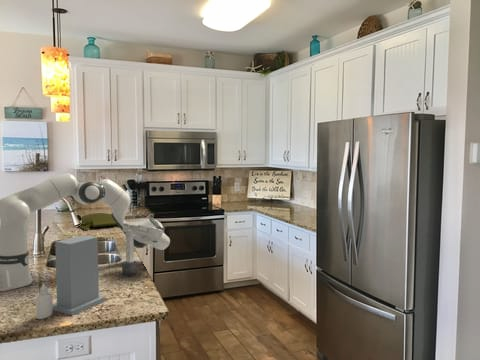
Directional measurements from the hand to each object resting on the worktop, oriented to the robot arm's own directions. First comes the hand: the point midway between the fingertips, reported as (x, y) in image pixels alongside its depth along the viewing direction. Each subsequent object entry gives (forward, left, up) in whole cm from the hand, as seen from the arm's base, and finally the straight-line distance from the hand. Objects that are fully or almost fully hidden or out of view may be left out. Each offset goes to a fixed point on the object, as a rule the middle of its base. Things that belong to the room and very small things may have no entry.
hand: (131, 225), depth 190 cm
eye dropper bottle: (-21, -49, -24) cm, 58 cm away
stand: (-12, -39, -24) cm, 47 cm away
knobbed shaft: (0, 0, -13) cm, 13 cm away
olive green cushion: (-54, +125, -25) cm, 139 cm away
